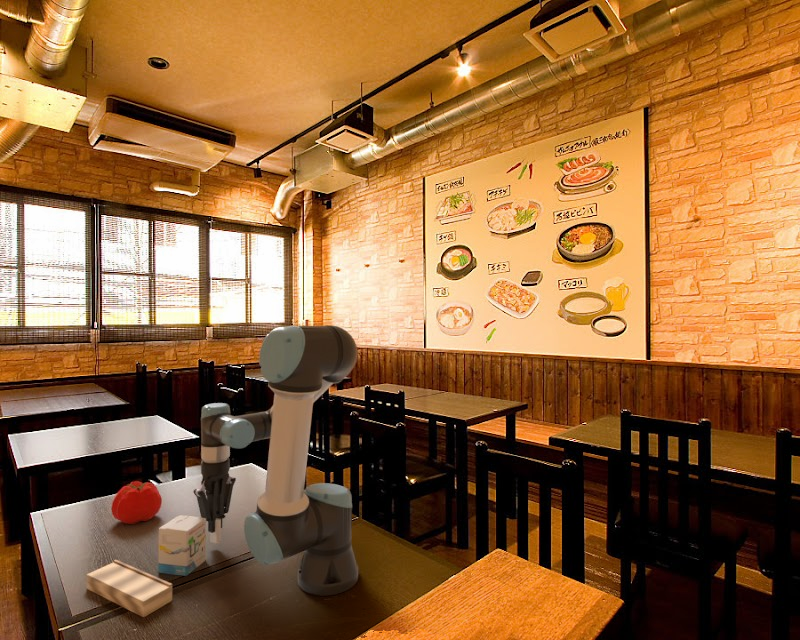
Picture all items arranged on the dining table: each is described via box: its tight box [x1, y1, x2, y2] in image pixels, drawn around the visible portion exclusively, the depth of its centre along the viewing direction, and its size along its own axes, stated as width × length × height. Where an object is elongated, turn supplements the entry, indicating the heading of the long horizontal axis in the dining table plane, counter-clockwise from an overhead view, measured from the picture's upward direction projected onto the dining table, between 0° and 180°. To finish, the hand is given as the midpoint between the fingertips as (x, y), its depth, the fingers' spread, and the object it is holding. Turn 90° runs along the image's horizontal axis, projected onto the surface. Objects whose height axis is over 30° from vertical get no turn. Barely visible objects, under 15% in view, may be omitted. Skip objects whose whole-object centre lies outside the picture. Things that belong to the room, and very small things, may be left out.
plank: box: [86, 559, 173, 618], centre depth 112 cm, size 22×7×4 cm, turn 62°
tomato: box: [110, 480, 163, 525], centre depth 152 cm, size 13×14×12 cm
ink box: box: [157, 515, 207, 577], centre depth 124 cm, size 9×8×12 cm
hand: (215, 541), depth 134 cm, fingers closed
